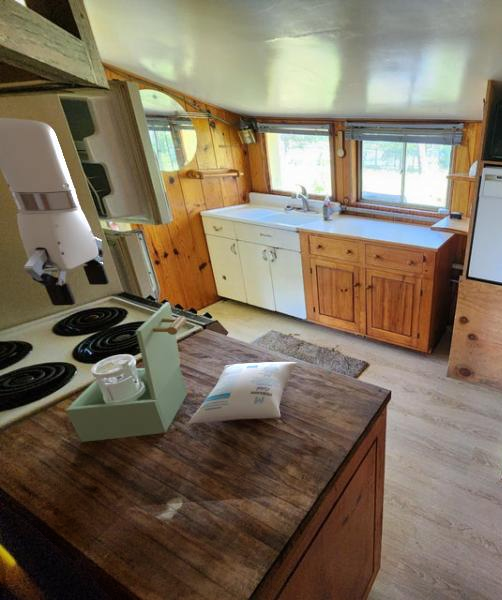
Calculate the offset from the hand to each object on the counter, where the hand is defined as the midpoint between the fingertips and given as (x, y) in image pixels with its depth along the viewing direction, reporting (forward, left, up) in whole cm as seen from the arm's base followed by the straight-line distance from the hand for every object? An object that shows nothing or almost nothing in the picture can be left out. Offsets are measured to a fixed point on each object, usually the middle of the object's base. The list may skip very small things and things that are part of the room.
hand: (83, 293), depth 62 cm
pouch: (+26, 0, -31) cm, 40 cm away
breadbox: (+2, -1, -31) cm, 31 cm away
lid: (+10, -1, -13) cm, 17 cm away
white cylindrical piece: (+1, -1, -30) cm, 30 cm away
